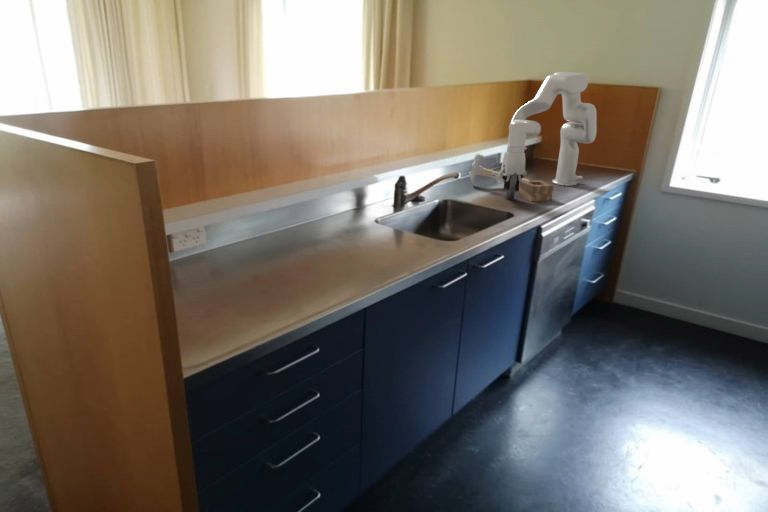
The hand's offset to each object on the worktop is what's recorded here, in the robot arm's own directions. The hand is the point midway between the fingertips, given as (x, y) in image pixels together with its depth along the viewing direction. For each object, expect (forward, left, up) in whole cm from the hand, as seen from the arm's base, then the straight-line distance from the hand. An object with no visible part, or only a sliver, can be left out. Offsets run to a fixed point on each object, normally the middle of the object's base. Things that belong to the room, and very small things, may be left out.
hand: (511, 188), depth 247 cm
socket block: (-13, 0, -5) cm, 14 cm away
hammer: (-6, -22, -5) cm, 24 cm away
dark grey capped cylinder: (0, 0, -5) cm, 5 cm away
